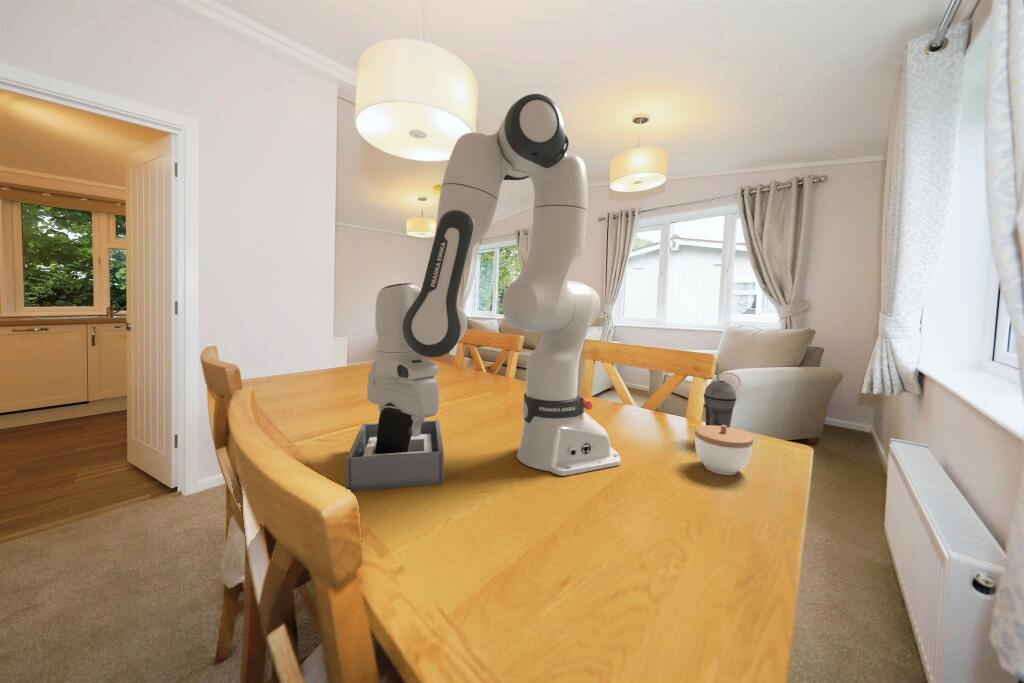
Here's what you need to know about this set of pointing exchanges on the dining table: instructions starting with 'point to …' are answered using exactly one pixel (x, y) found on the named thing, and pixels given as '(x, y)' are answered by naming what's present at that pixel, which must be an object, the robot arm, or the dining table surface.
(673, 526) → the dining table surface
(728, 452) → the lidded jar
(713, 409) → the beverage cup
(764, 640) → the dining table surface
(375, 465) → the socket box
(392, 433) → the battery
